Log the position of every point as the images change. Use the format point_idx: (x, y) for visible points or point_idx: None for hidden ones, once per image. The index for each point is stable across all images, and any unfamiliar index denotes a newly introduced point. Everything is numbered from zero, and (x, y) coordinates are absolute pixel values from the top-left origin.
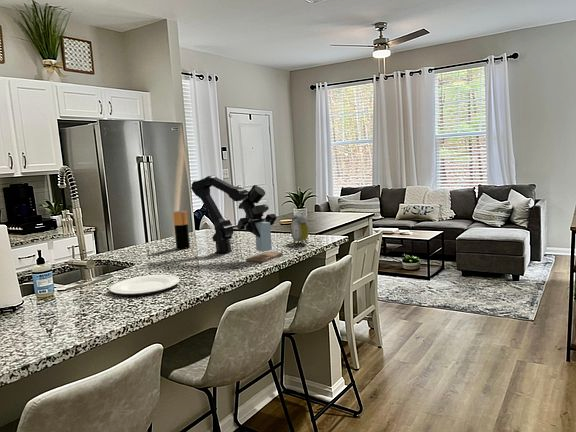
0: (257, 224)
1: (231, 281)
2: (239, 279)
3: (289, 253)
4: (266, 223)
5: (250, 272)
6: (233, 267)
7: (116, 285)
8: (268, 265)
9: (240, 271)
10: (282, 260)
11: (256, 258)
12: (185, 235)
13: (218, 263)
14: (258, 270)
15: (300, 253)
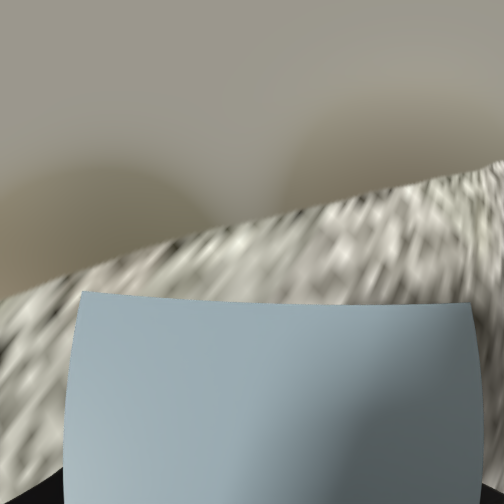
0: (459, 489)
1: (496, 175)
2: (479, 171)
3: (39, 394)
4: (245, 310)
5: (441, 206)
6: (479, 343)
7: None
8: (334, 241)
9: (470, 250)
10: (201, 275)
11: None
12: None
13: (491, 480)
14: (408, 204)
15: (13, 330)
